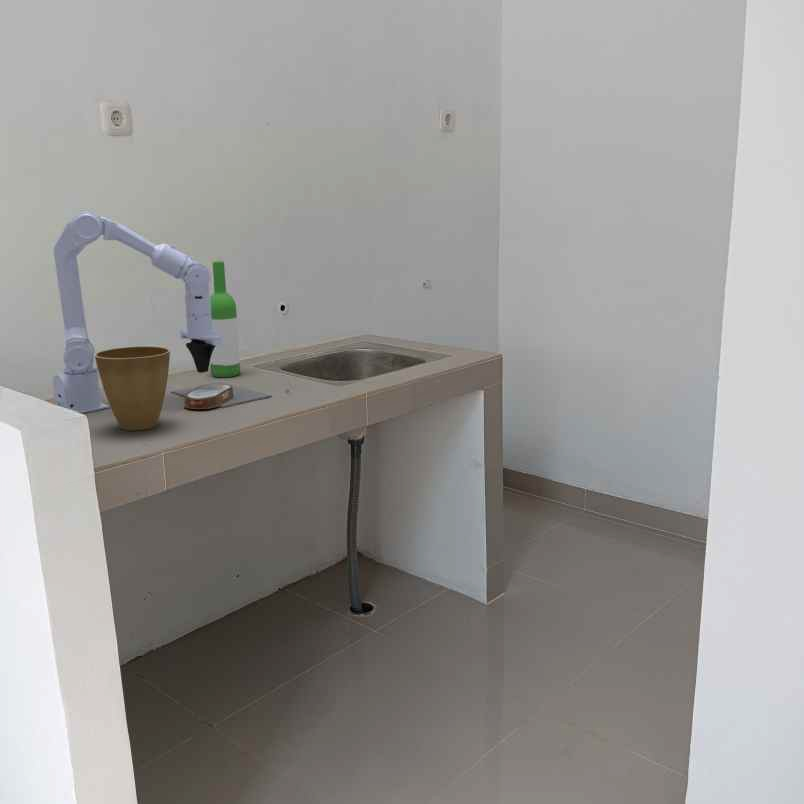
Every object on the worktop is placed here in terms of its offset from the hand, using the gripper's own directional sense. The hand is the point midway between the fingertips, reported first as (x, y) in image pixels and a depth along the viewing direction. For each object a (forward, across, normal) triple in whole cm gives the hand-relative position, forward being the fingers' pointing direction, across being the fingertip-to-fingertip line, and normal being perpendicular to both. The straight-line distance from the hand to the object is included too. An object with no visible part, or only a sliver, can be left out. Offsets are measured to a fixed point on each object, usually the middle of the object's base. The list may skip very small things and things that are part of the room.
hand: (202, 371), depth 203 cm
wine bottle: (+7, +18, -18) cm, 26 cm away
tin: (+4, -1, +4) cm, 6 cm away
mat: (+6, 0, -4) cm, 8 cm away
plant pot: (+7, -11, +23) cm, 26 cm away
